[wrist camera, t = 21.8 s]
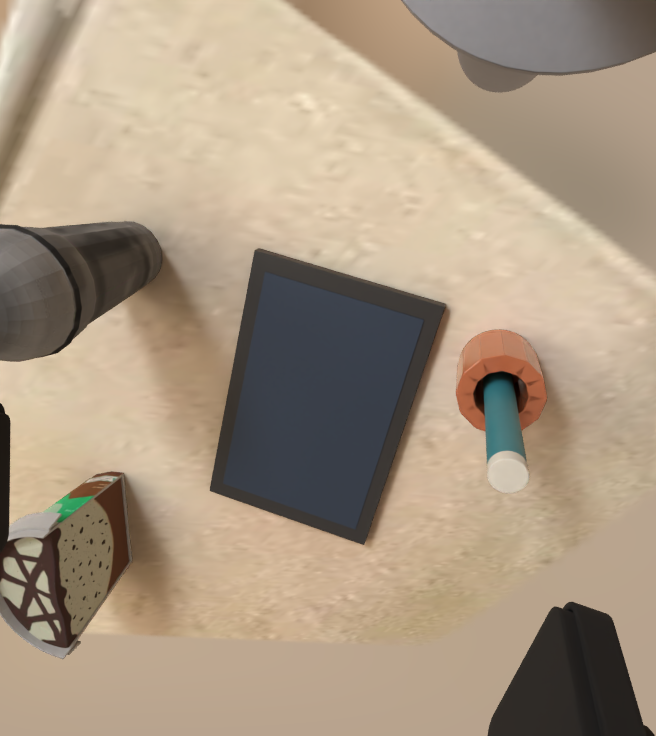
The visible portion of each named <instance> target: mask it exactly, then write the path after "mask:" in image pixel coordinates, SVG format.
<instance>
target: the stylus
mask: <svg viewBox="0 0 656 736" xmlns="http://www.w3.org/2000/svg"><path fill="white" fill-rule="evenodd" d="M483 389H484V410H485V431H486V451H487V478H488V481H489V483H490V485H491V486H492V487H493V488H494V489H496V490H497V491H499V492H502V493H516V492H519V491H521V490H522V489H523V488H524V487H525V486H526V485H527V484H528V481H529V469H528V464H527V460H526V454H525V448H524V443H523V437H522V431H521V425H520V419H519V413H518V407H517V401H516V396H515V390H514V384H513V378H512V374H511V373H508V372H504V371H500V372H494V373H489V374H487V375H486V376H485V377H483Z"/></svg>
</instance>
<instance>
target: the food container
mask: <svg viewBox="0 0 656 736" xmlns="http://www.w3.org/2000/svg"><path fill="white" fill-rule="evenodd" d="M131 562H132V555H131V545H130V534H129V524H128V514H127V504H126V493H125V483H124V473H120V472H107V473H101V474H96V475H95V476H93V477H92V478H90V479H89V480H87V481H85V482H84V483H83V484H81V485H80V486H78V487H77V488H76V489H74V490H73V491H72V492H70V493H69V494H67V495H66V496H65V497H63V498H62V499H60V500H59V501H58V502H56V503H55V504H53V505H52V506H51V507H49V508H48V509H47V510H45V511H44V512H42V513H34V514H29V515H26V516H24V517H22V518H19V519H18V520H16V521H15V522H14V523H12V524H11V525H10V526H9V537H8V540H7V543H6V545H5V547H4V549H3V550H2V551H1V553H0V615H1V617H2V618H3V619H4V621H5V622H6V623H7V624H8V625H9V626H10V627H11V628H12V629H13V631H14V632H16V633H17V634H18V635H19V636H20V637H21V638H23V639H24V640H25V641H27V642H28V643H30V644H31V645H33V646H34V647H36V648H38V649H39V650H41V651H43V652H45V653H48V654H50V655H53V656H55V657H59V658H61V659H64V658H65V657H66V655H67V654H68V655H69V654H70V653H71V652H72V651H73V650H74V649H75V648H76V647H77V646H78V645H79V644H80V643H81V642H80V641H78V639H79V637H80V636H81V634H82V633H83V631H84V630H85V628H86V627H87V626H88V624H89V623H90V621H91V620H92V618H93V617H94V616H95V614H96V613H97V611H98V610H99V608H100V607H101V606H102V604H103V603H104V601H105V600H106V598H107V597H108V595H109V594H110V593H111V591H112V590H113V588H114V587H115V585H116V584H117V583H118V581H119V580H120V578H121V577H122V575H123V574H124V572H125V571H126V570H127V568H128V567H129V565H130V564H131Z"/></svg>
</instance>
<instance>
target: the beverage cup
mask: <svg viewBox="0 0 656 736" xmlns="http://www.w3.org/2000/svg"><path fill="white" fill-rule="evenodd" d="M161 263H162V256H161V249H160V247H159V244H158V241H157V240H156V238H155V237H154V236H153V234H152V233H151V232H150V231H149V230H148V229H146V228H145V227H144V226H142V225H140V224H137V223H135V222H103V223H92V224H81V225H70V226H58V227H47V228H33V227H20V226H18V225H2V224H0V360H2V361H16V362H20V361H25V360H30V359H34V358H39V357H44V356H48V355H52V354H56V353H58V352H59V351H61V350H62V349H63V348H65V347H66V346H67V345H69V344H70V343H71V341H72V340H73V338H75V337H76V336H77V335H78V334H79V333H80V332H81V331H83V330H84V329H85V328H86V326H87V325H88V324H89V323H91V322H92V321H94V320H95V319H97V318H98V317H100V316H101V315H103V314H104V313H106V312H107V311H109V310H110V309H112V308H113V307H115V306H116V305H118V304H119V303H121V302H122V301H124V300H125V299H127V298H128V297H130V296H131V295H133V294H134V293H136V292H137V291H139V290H140V289H141V288H142V287H144V286H145V285H146V284H147V283H149V282H150V281H151V280H153V279H154V278H155V277H156V275H157V274H158V272H159V271H160V267H161Z"/></svg>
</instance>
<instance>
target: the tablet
mask: <svg viewBox="0 0 656 736" xmlns="http://www.w3.org/2000/svg"><path fill="white" fill-rule="evenodd" d="M444 309H445V304H444V303H440V302H437V301H434V300H430V299H427V298H424V297H420V296H417V295H414V294H410V293H407V292H404V291H400V290H397V289H393V288H390V287H387V286H383V285H380V284H377V283H373V282H370V281H367V280H363V279H360V278H357V277H353V276H350V275H347V274H343V273H340V272H336V271H333V270H330V269H326V268H323V267H320V266H316V265H313V264H310V263H306V262H303V261H300V260H296V259H293V258H289V257H286V256H283V255H279V254H276V253H273V252H269V251H266V250H263V249H259V248H258V249H257V250H255V252H254V257H253V263H252V268H251V273H250V279H249V284H248V289H247V294H246V300H245V305H244V310H243V316H242V321H241V326H240V332H239V337H238V342H237V348H236V353H235V358H234V364H233V369H232V374H231V380H230V385H229V390H228V396H227V401H226V406H225V412H224V417H223V422H222V427H221V433H220V438H219V443H218V449H217V454H216V459H215V465H214V470H213V475H212V481H211V486H210V491H212V492H214V493H217V494H220V495H223V496H226V497H229V498H232V499H234V500H237V501H240V502H243V503H246V504H249V505H251V506H254V507H257V508H260V509H263V510H266V511H269V512H271V513H274V514H277V515H280V516H283V517H286V518H288V519H291V520H294V521H297V522H300V523H303V524H306V525H308V526H311V527H314V528H317V529H320V530H323V531H326V532H328V533H331V534H334V535H337V536H340V537H343V538H345V539H348V540H351V541H354V542H357V543H360V544H363V545H364V544H365V541H366V538H367V535H368V532H369V529H370V527H371V524H372V521H373V518H374V515H375V512H376V509H377V506H378V503H379V500H380V497H381V494H382V491H383V488H384V485H385V482H386V479H387V476H388V474H389V471H390V468H391V465H392V462H393V459H394V456H395V453H396V450H397V447H398V444H399V441H400V438H401V435H402V432H403V429H404V426H405V424H406V421H407V418H408V415H409V412H410V409H411V406H412V403H413V400H414V397H415V394H416V391H417V388H418V385H419V382H420V379H421V376H422V373H423V371H424V368H425V365H426V362H427V359H428V356H429V353H430V350H431V347H432V344H433V341H434V338H435V335H436V332H437V329H438V326H439V323H440V320H441V318H442V315H443V312H444Z"/></svg>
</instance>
